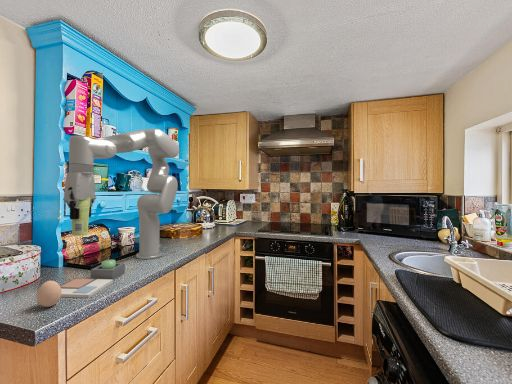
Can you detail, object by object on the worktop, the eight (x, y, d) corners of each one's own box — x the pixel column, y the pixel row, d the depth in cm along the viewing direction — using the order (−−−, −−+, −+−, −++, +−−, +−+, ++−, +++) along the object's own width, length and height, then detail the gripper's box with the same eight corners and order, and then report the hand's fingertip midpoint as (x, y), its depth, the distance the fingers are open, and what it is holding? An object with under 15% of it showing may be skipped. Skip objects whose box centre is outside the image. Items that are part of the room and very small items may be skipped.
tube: (78, 233, 96) (78, 182, 96) (91, 233, 97) (92, 183, 96) (68, 236, 91) (68, 182, 90) (82, 236, 91) (83, 182, 91)
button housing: (104, 272, 103) (104, 262, 103) (124, 272, 103) (124, 263, 103) (90, 280, 95) (90, 269, 95) (112, 280, 95) (112, 270, 95)
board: (75, 281, 94) (75, 277, 94) (113, 282, 93) (113, 279, 93) (45, 296, 81) (45, 292, 81) (88, 297, 80) (88, 294, 80)
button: (106, 269, 101) (106, 259, 101) (118, 269, 101) (118, 259, 101) (98, 273, 97) (98, 263, 97) (110, 273, 97) (110, 263, 96)
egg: (32, 308, 73) (32, 282, 73) (54, 300, 79) (54, 276, 78) (43, 312, 71) (43, 286, 71) (65, 303, 76) (65, 279, 76)
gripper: (88, 171, 102) (87, 215, 102) (51, 167, 85) (51, 220, 85) (106, 171, 101) (105, 216, 102) (72, 167, 84) (72, 221, 85)
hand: (80, 217), depth 93 cm, fingers closed on tube, 5 cm apart
